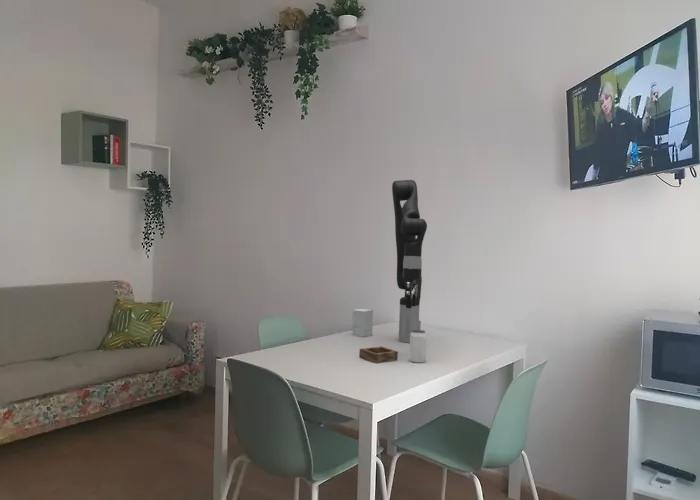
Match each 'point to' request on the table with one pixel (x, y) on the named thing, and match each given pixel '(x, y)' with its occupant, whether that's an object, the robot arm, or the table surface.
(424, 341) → the can
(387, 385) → the table surface
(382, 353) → the tray
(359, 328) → the supplement box
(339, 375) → the table surface
